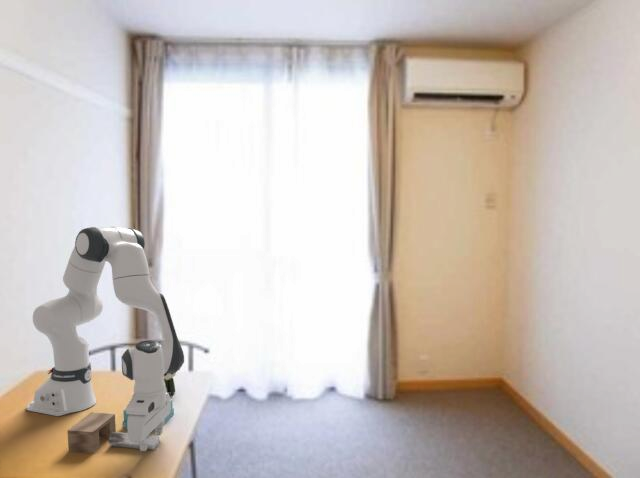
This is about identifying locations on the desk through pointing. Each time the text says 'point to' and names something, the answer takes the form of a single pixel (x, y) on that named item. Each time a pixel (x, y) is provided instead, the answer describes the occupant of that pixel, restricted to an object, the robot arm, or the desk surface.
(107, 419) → the wooden bridge block
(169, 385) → the character mug
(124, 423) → the teal cradle
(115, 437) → the steel axle
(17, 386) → the desk surface
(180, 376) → the desk surface
